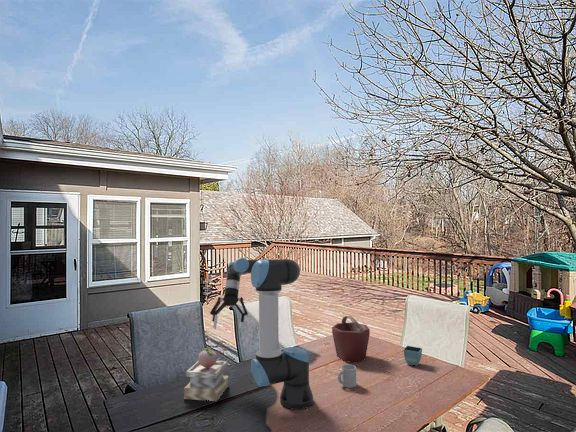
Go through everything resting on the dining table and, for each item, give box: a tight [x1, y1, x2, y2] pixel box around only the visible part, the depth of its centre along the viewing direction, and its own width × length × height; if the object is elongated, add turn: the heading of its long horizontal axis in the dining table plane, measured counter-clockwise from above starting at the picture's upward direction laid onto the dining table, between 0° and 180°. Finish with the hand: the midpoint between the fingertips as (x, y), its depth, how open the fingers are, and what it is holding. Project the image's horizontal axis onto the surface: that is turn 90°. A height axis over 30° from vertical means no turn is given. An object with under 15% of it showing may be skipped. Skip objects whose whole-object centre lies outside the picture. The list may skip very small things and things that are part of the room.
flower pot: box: [403, 345, 423, 367], centre depth 201 cm, size 9×9×9 cm
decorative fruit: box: [197, 347, 218, 369], centre depth 167 cm, size 9×8×10 cm
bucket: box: [331, 315, 371, 363], centre depth 213 cm, size 24×22×25 cm
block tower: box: [183, 360, 229, 402], centre depth 166 cm, size 16×16×12 cm
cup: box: [337, 363, 357, 389], centre depth 173 cm, size 7×10×9 cm
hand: (227, 328), depth 180 cm, fingers open, 13 cm apart
